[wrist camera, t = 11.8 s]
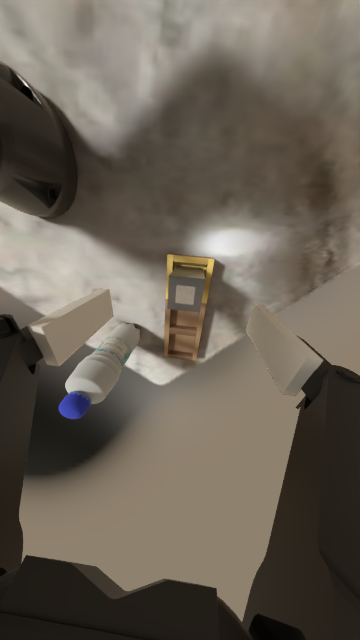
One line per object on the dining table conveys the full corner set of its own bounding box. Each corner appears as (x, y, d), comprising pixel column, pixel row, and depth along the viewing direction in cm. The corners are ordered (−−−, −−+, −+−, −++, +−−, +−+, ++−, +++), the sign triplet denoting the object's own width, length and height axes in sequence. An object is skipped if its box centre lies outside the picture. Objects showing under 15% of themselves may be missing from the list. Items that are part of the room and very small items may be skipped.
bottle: (147, 327, 35) (97, 412, 17) (138, 346, 38) (88, 435, 20) (121, 314, 34) (39, 391, 16) (114, 335, 37) (39, 418, 19)
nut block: (177, 265, 26) (168, 275, 17) (201, 267, 26) (205, 279, 17) (175, 289, 28) (167, 309, 20) (198, 291, 28) (199, 312, 19)
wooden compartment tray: (169, 253, 27) (167, 254, 24) (212, 257, 26) (214, 259, 24) (165, 350, 37) (163, 356, 35) (196, 353, 37) (196, 361, 35)
